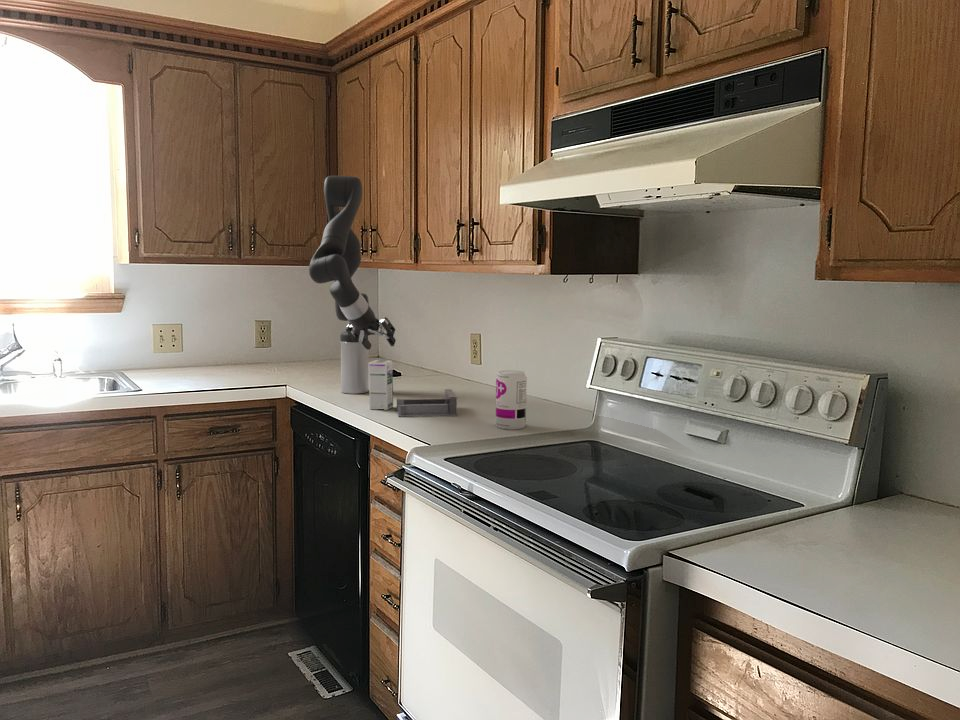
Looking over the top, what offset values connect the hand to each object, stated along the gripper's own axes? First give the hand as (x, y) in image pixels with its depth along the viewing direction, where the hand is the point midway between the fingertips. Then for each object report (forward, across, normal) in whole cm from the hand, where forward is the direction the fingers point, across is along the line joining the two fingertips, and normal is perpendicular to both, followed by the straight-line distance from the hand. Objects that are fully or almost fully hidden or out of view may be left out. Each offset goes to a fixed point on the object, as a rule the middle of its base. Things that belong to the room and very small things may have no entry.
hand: (381, 346), depth 248 cm
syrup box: (+11, +1, +16) cm, 19 cm away
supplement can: (+10, -44, +28) cm, 53 cm away
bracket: (+13, -14, +17) cm, 25 cm away
